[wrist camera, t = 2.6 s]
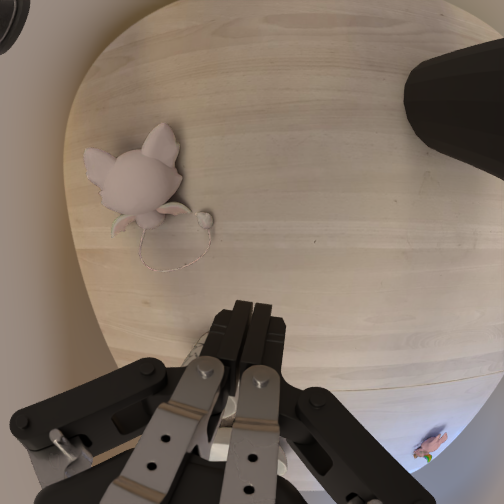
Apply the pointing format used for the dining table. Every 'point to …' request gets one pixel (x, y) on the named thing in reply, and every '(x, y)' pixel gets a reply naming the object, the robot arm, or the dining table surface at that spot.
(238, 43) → the dining table surface
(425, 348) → the dining table surface
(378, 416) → the dining table surface
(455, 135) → the vase
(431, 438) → the pink soft figure
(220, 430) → the serving bowl
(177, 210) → the toy
